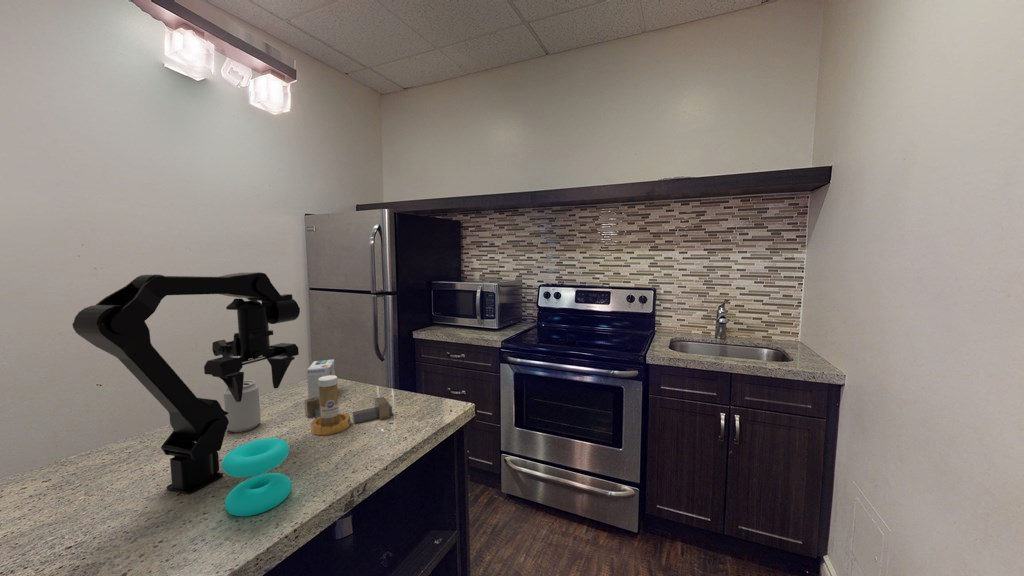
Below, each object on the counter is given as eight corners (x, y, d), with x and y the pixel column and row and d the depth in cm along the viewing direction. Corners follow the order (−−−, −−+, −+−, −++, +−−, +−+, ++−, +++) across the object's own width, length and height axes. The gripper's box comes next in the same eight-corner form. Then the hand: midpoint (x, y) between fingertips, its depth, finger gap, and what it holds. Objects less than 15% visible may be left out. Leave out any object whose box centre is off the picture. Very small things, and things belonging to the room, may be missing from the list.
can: (267, 421, 104) (264, 378, 103) (245, 434, 96) (242, 387, 95) (242, 421, 104) (239, 378, 104) (218, 433, 97) (215, 387, 96)
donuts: (211, 452, 66) (273, 431, 75) (215, 507, 67) (276, 479, 75) (236, 468, 61) (299, 443, 69) (240, 528, 61) (302, 496, 70)
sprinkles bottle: (325, 433, 96) (322, 381, 95) (317, 428, 99) (314, 377, 98) (343, 426, 99) (340, 376, 98) (335, 422, 102) (332, 373, 101)
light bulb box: (314, 392, 128) (312, 360, 127) (336, 389, 130) (334, 358, 129) (307, 403, 117) (305, 369, 117) (331, 400, 119) (329, 366, 119)
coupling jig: (354, 440, 92) (353, 422, 91) (275, 428, 99) (273, 412, 99) (396, 413, 108) (395, 397, 108) (325, 404, 115) (324, 390, 115)
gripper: (264, 320, 97) (268, 379, 98) (182, 333, 80) (188, 406, 81) (298, 321, 94) (302, 383, 95) (221, 335, 76) (226, 411, 77)
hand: (258, 394), depth 87 cm, fingers open, 9 cm apart
